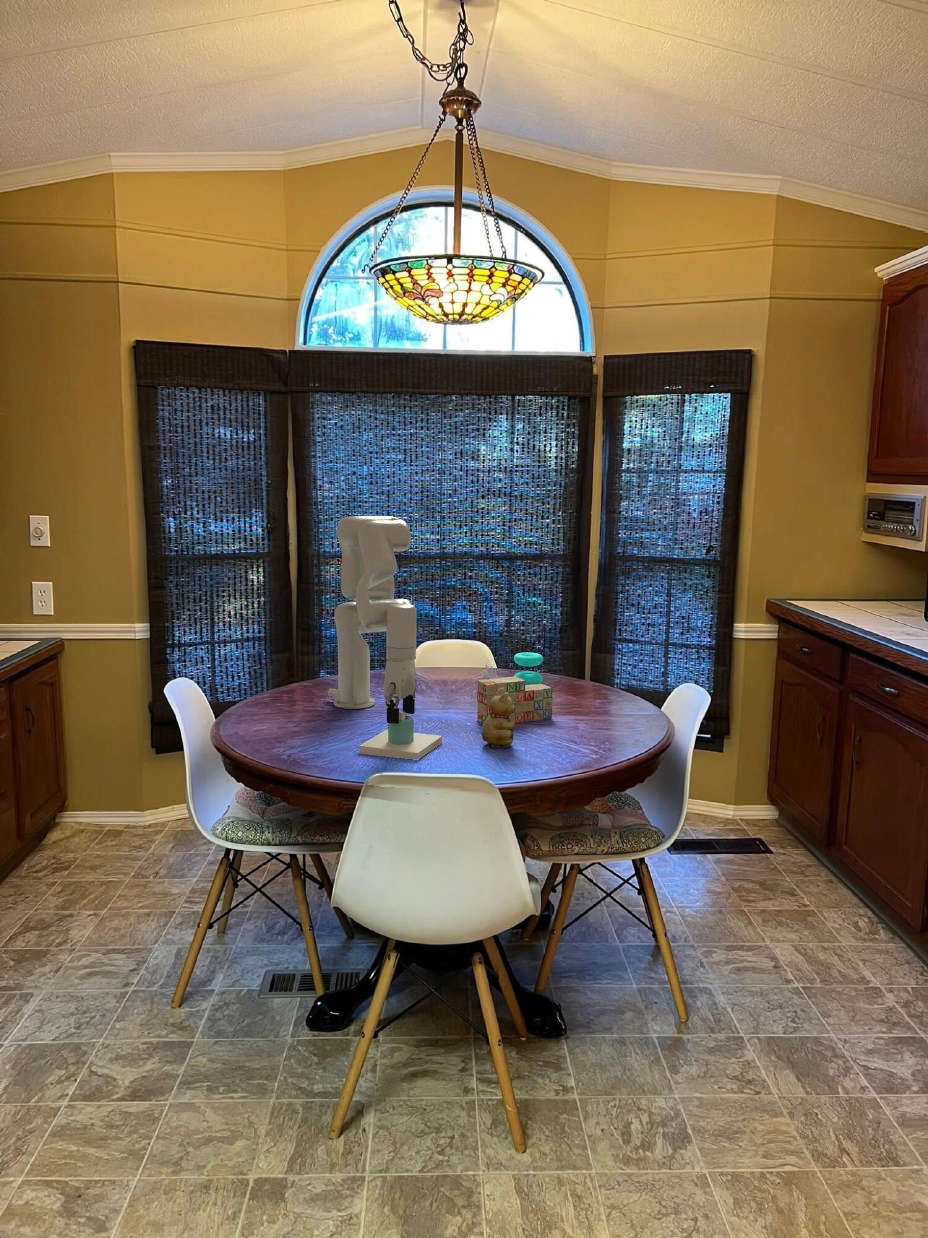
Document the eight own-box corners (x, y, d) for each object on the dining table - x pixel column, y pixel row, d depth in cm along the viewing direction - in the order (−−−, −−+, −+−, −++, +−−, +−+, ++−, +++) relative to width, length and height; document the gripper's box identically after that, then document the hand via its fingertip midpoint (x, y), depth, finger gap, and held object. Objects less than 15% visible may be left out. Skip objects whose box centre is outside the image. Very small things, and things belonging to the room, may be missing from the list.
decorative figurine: (518, 749, 230) (519, 692, 228) (488, 751, 228) (488, 694, 226) (506, 739, 239) (507, 684, 237) (476, 741, 237) (477, 685, 235)
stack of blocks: (541, 714, 266) (542, 673, 264) (552, 719, 260) (553, 677, 259) (476, 721, 257) (477, 679, 255) (486, 727, 251) (487, 684, 250)
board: (359, 753, 225) (359, 716, 224) (386, 736, 240) (386, 702, 239) (417, 760, 220) (417, 723, 218) (441, 743, 235) (442, 708, 233)
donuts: (542, 657, 299) (512, 656, 300) (541, 687, 300) (512, 685, 302) (544, 652, 309) (515, 651, 310) (543, 680, 310) (514, 679, 311)
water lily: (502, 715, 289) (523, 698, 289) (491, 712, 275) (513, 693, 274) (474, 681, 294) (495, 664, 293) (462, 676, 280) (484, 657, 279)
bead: (385, 742, 228) (385, 720, 227) (395, 736, 233) (395, 714, 232) (406, 745, 226) (406, 722, 225) (416, 739, 231) (416, 716, 230)
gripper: (401, 645, 236) (401, 708, 239) (372, 658, 220) (372, 725, 223) (428, 647, 233) (427, 711, 236) (400, 660, 217) (400, 729, 220)
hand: (400, 718), depth 229 cm, fingers open, 9 cm apart
